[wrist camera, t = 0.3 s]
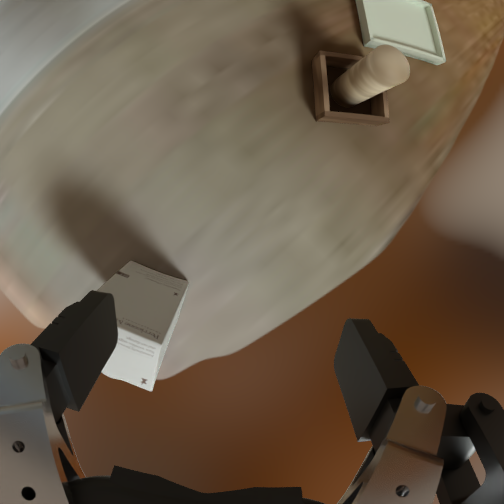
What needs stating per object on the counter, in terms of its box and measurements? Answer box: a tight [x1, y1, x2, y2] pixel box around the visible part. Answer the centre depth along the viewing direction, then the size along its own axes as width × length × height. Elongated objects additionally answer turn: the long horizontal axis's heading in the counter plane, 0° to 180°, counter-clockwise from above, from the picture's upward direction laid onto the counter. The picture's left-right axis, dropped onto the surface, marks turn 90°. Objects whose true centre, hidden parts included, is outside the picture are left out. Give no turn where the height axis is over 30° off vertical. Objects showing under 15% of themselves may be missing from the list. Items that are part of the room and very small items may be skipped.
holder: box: [312, 51, 389, 126], centre depth 31 cm, size 8×8×4 cm
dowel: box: [330, 45, 410, 108], centre depth 27 cm, size 4×4×12 cm
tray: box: [355, 0, 446, 65], centre depth 29 cm, size 11×13×2 cm
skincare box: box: [97, 261, 189, 391], centre depth 29 cm, size 8×6×15 cm
